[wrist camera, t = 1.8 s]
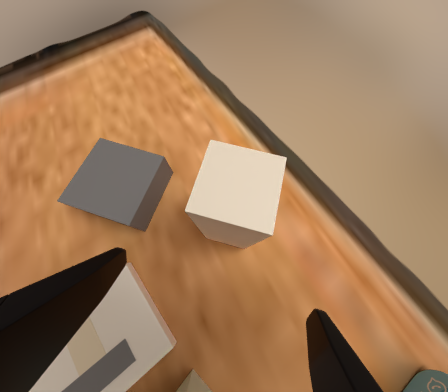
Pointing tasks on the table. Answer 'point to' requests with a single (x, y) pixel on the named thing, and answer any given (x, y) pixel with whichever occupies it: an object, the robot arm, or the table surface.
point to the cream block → (236, 194)
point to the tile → (112, 343)
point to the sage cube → (193, 384)
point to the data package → (428, 382)
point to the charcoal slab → (119, 184)
